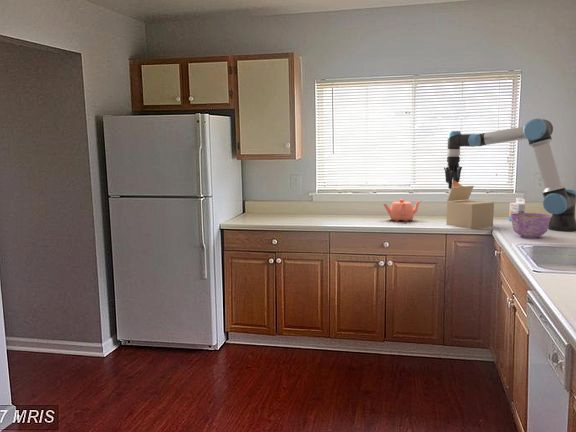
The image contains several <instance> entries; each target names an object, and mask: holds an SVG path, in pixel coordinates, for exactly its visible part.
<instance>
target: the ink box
mask: <svg viewBox="0 0 576 432" xmlns="http://www.w3.org/2000/svg"><path fill="white" fill-rule="evenodd" d="M525 204H526V199H525V198H522V197H521V198H520V197H516V198H515V202H509V212H508V213H509V214H508V215H509V217H508V218H509V219H508V221H509V222H512V221H511V216H510V215H511V214H514V213H526V212H525V209H526V205H525Z"/></svg>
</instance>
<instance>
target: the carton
mask: <svg viewBox="0 0 576 432" xmlns="http://www.w3.org/2000/svg"><path fill="white" fill-rule="evenodd" d="M494 210H495V203H494V202H493V201H485V200H471V199H468V200H457V201H446V221H445V223H446V225H448V226H454V227H458V228H465V229H470V230H472V229H480V228H482V229H483V228H490V227H494V215H495V214H494V212H495V211H494Z"/></svg>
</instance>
